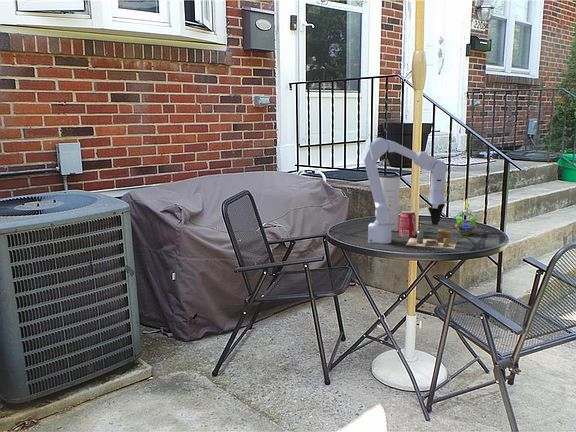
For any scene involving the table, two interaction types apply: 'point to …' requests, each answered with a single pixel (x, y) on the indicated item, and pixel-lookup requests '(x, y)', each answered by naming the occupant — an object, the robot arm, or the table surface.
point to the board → (432, 243)
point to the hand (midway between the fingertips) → (435, 222)
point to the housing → (443, 235)
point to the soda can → (407, 223)
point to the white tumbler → (392, 197)
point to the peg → (419, 236)
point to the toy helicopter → (466, 226)
